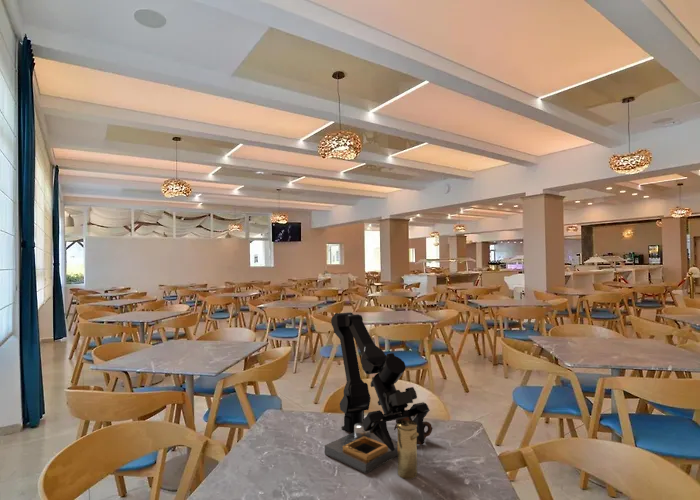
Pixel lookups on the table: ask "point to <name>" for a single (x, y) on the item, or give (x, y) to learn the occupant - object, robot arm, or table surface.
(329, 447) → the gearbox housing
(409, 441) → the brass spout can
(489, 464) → the table surface
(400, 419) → the pottery mug
